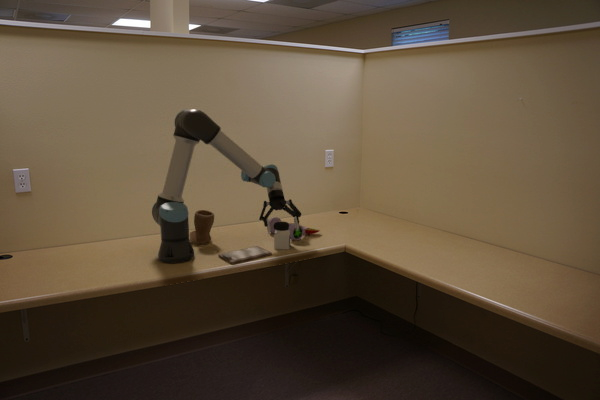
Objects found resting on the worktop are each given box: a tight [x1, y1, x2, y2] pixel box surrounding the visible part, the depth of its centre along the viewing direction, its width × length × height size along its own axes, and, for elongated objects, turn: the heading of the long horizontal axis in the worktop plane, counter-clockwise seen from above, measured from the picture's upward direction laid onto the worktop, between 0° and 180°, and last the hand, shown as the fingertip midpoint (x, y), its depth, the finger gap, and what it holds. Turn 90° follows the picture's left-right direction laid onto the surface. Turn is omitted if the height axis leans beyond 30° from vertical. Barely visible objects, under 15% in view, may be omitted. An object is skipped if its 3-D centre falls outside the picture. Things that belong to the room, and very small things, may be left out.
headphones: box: [268, 216, 320, 242], centre depth 229 cm, size 20×10×20 cm
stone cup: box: [189, 209, 215, 244], centre depth 217 cm, size 15×12×15 cm
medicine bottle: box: [273, 220, 291, 250], centre depth 207 cm, size 7×7×12 cm
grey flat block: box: [217, 245, 273, 265], centre depth 197 cm, size 20×12×2 cm, turn 128°
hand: (283, 231), depth 208 cm, fingers open, 13 cm apart
